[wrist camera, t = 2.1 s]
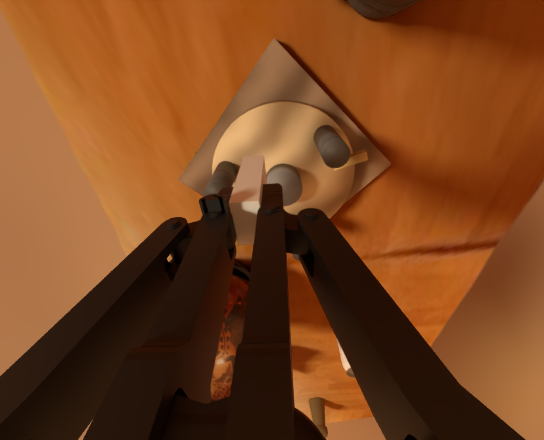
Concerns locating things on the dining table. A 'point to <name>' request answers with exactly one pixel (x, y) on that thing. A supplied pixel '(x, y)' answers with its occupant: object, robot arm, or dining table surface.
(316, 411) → the brown tapered piece
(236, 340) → the amphora vase
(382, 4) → the beer stein
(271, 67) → the stand
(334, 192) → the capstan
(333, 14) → the dining table surface
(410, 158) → the dining table surface
